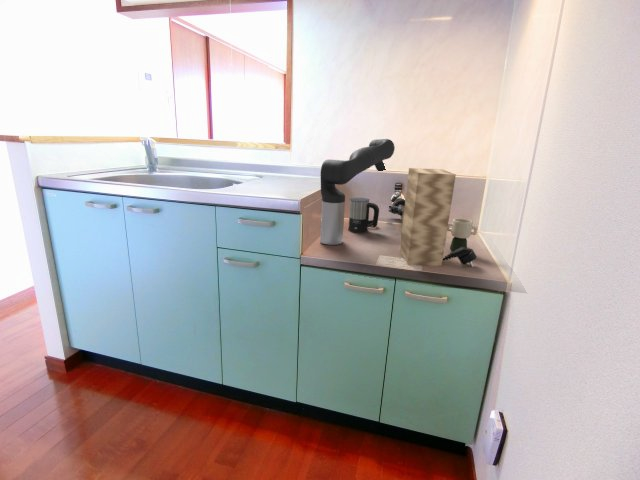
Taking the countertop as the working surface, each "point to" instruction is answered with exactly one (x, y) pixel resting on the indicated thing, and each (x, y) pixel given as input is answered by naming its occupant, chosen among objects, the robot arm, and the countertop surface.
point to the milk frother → (361, 215)
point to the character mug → (461, 232)
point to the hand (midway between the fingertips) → (406, 213)
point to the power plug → (463, 255)
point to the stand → (426, 216)
